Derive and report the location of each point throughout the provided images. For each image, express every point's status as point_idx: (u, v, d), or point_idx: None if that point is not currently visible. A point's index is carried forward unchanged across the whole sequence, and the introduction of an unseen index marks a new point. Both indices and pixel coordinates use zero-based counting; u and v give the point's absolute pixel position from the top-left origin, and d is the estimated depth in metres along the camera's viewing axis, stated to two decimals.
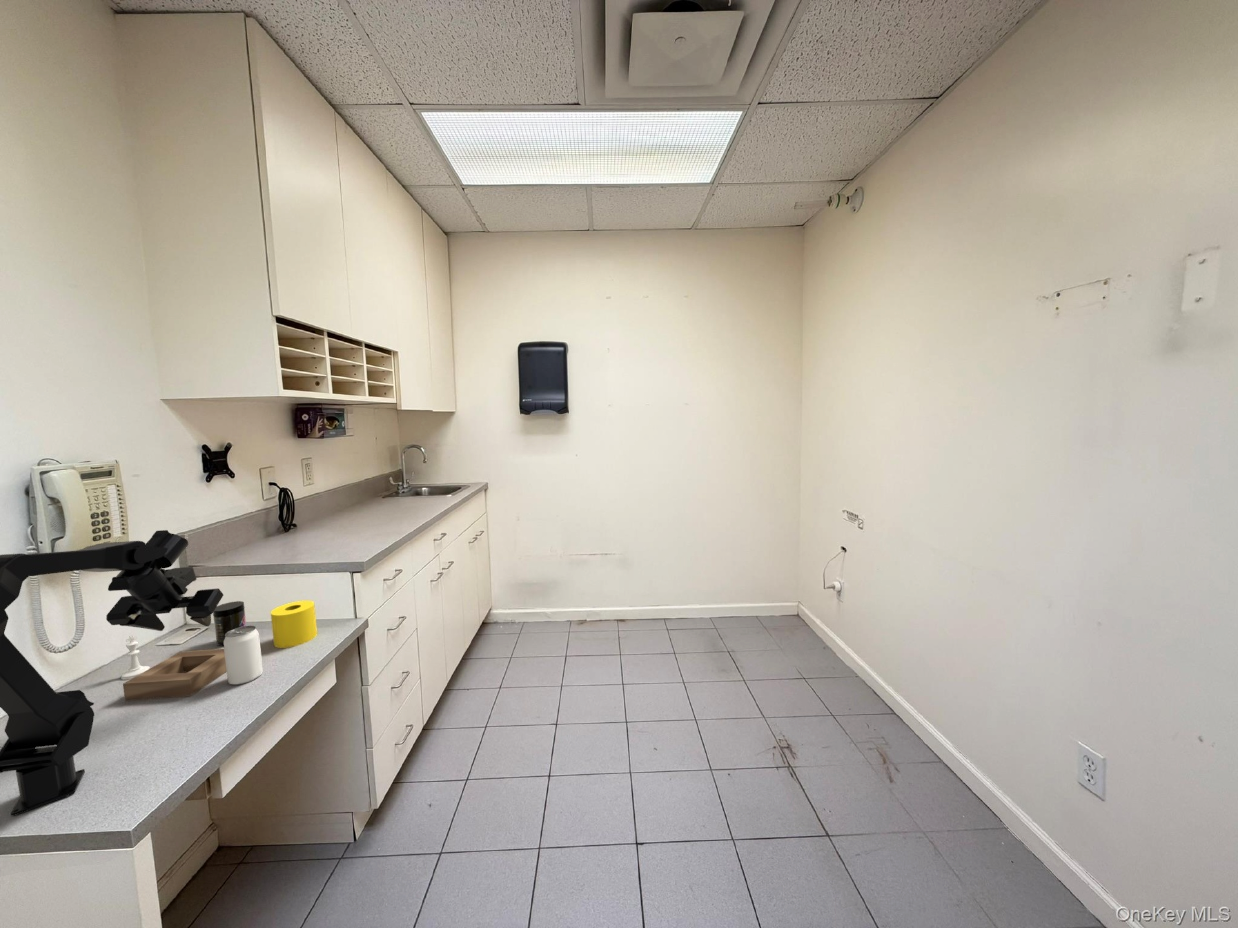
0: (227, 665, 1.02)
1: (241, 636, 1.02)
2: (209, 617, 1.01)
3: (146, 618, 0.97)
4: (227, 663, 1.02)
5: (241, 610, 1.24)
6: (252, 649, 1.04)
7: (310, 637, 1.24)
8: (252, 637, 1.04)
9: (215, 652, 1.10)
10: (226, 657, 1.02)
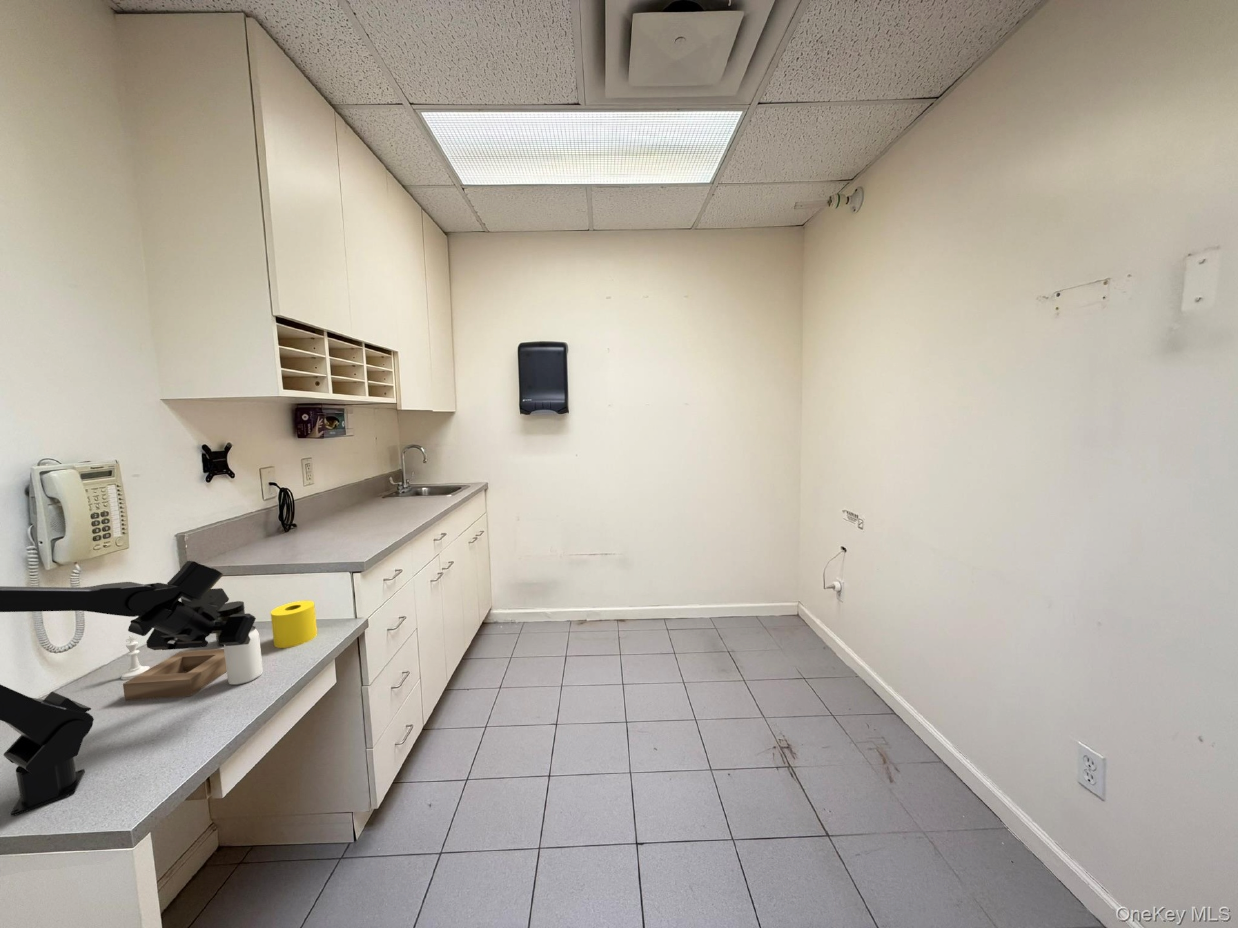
0: (227, 665, 1.02)
1: None
2: (247, 637, 0.99)
3: None
4: (227, 663, 1.02)
5: (241, 610, 1.24)
6: (252, 649, 1.04)
7: (310, 637, 1.24)
8: (252, 637, 1.04)
9: (215, 652, 1.10)
10: (226, 657, 1.02)
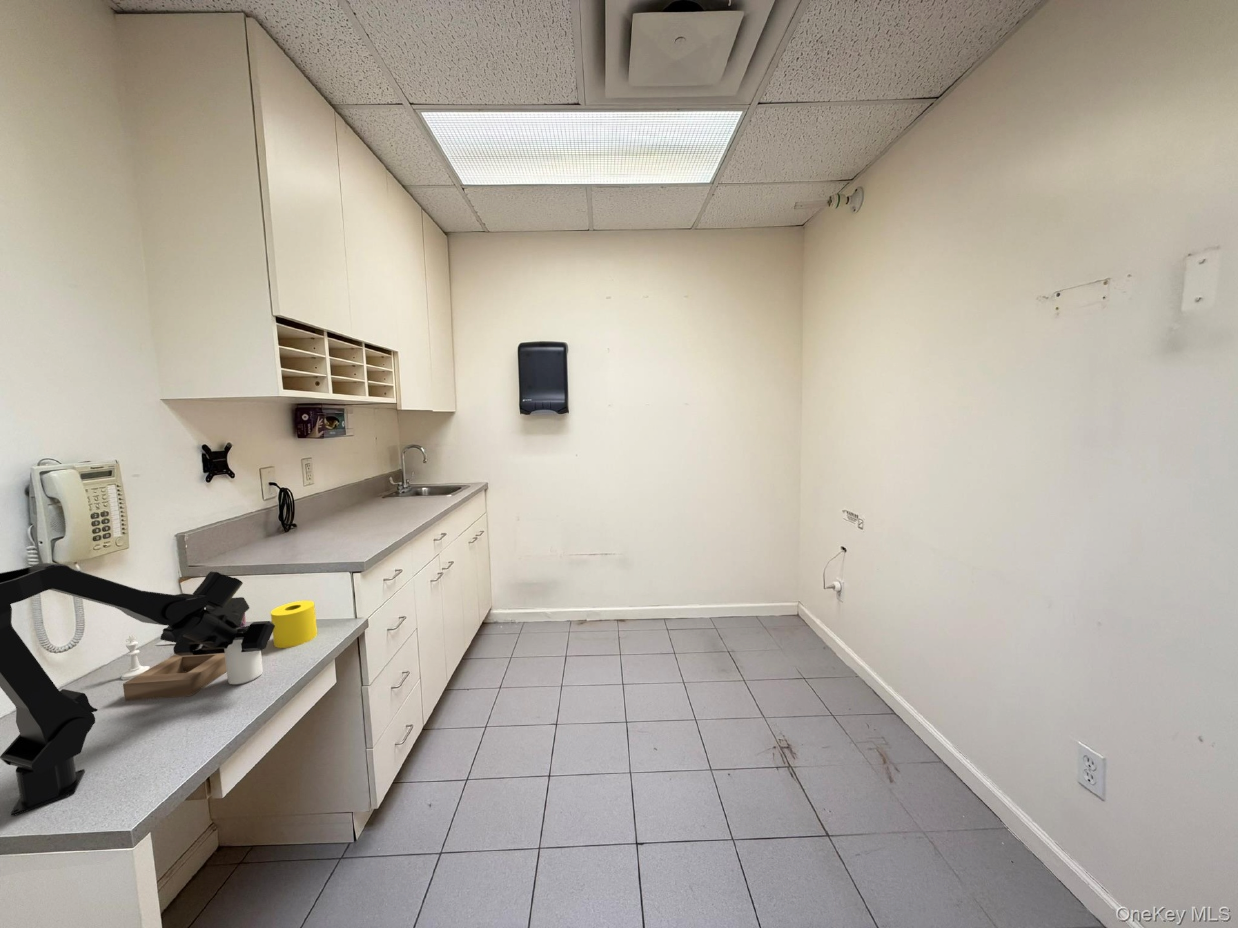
0: (227, 665, 1.02)
1: None
2: None
3: None
4: (227, 663, 1.02)
5: None
6: None
7: (310, 637, 1.24)
8: None
9: None
10: (226, 657, 1.02)
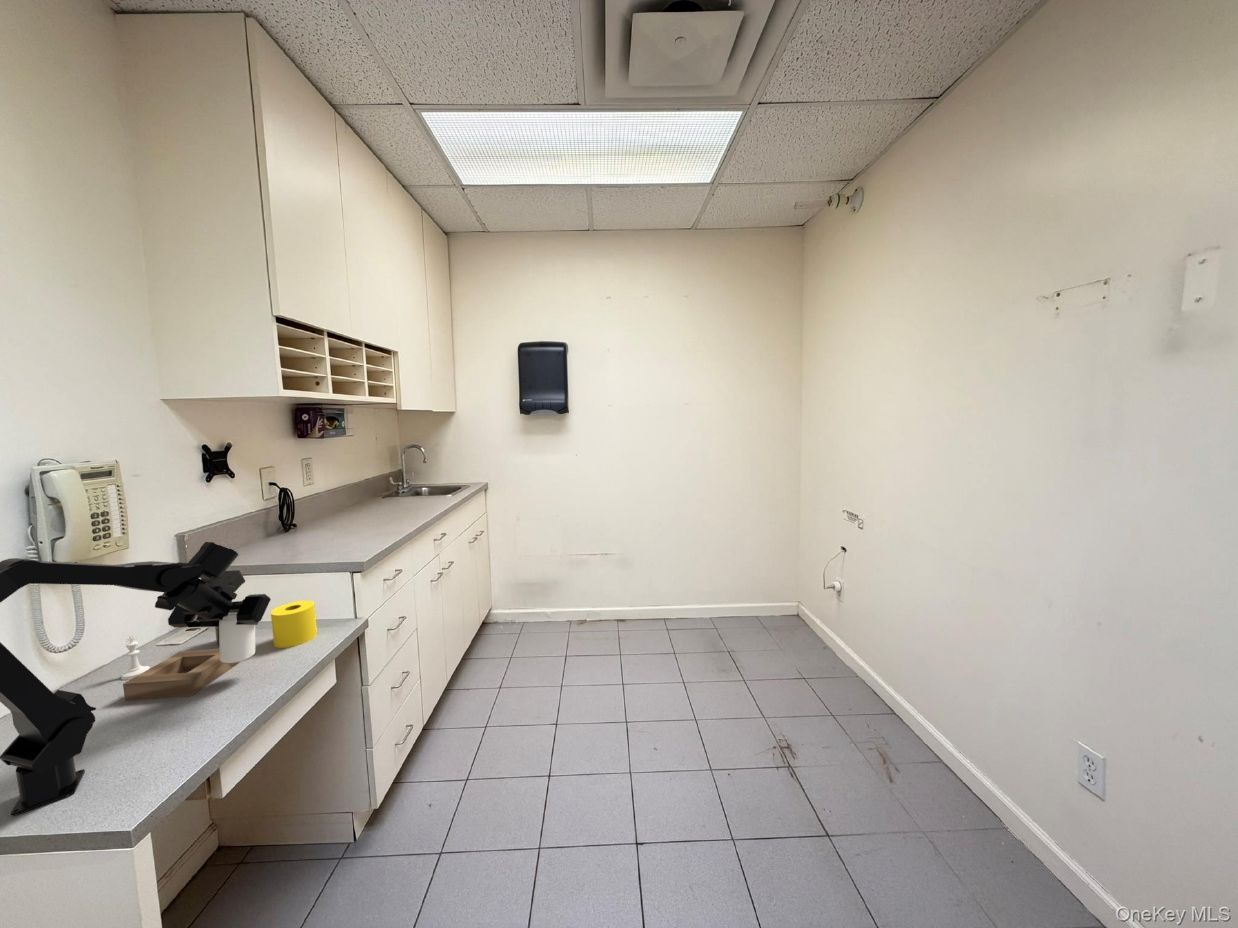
0: (221, 643, 1.01)
1: None
2: None
3: None
4: (221, 641, 1.01)
5: None
6: (247, 628, 1.03)
7: (310, 637, 1.24)
8: None
9: (215, 652, 1.10)
10: (221, 635, 1.01)
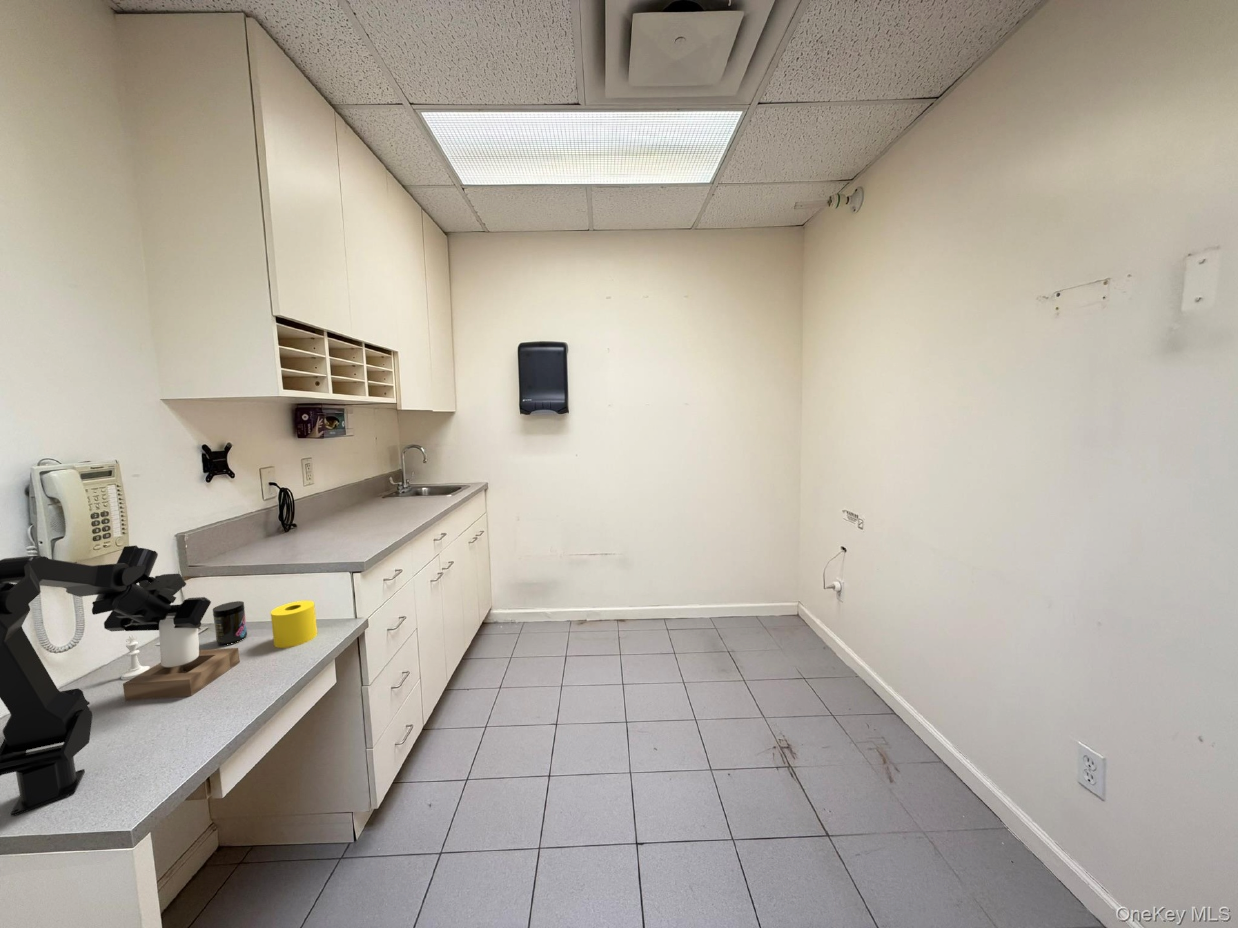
0: (161, 647, 1.01)
1: None
2: None
3: None
4: (161, 645, 1.01)
5: (241, 610, 1.24)
6: (189, 632, 1.03)
7: (310, 637, 1.24)
8: None
9: (215, 652, 1.10)
10: (160, 639, 1.01)
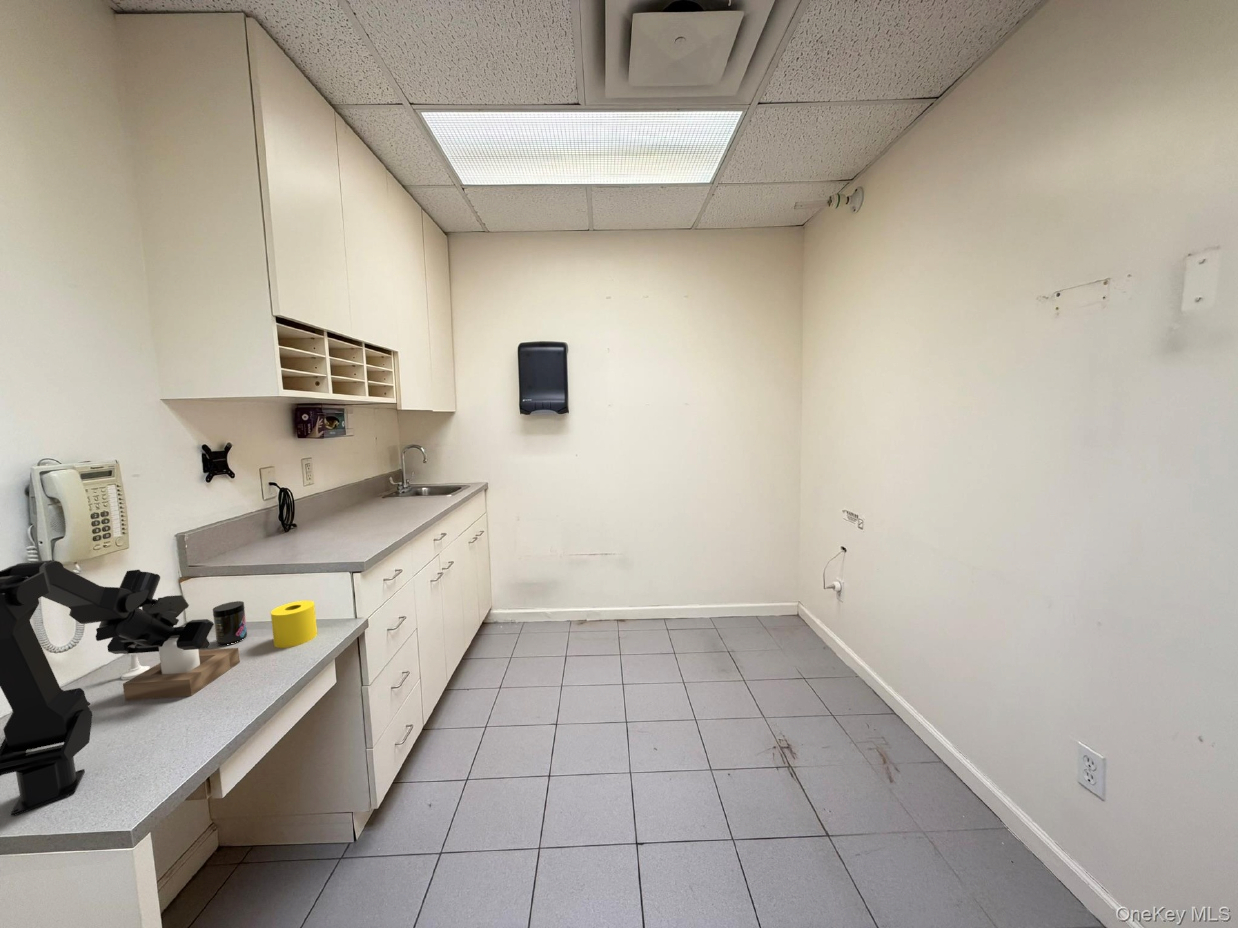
0: (162, 668, 1.01)
1: (177, 639, 1.02)
2: (206, 641, 1.05)
3: None
4: (162, 666, 1.01)
5: (241, 610, 1.24)
6: (189, 651, 1.03)
7: (310, 637, 1.24)
8: None
9: (215, 652, 1.10)
10: (161, 660, 1.01)
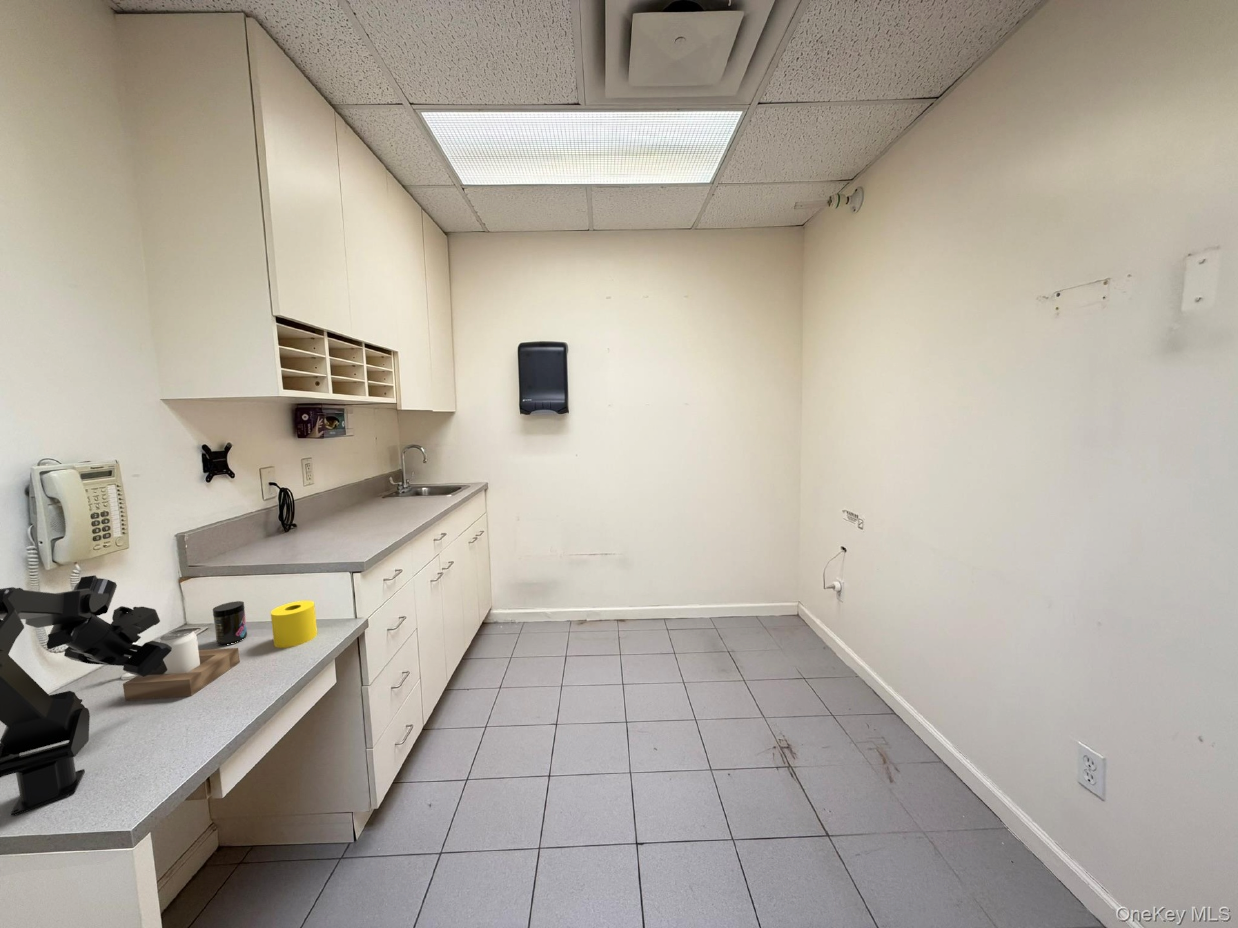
0: None
1: (177, 639, 1.02)
2: (162, 667, 0.94)
3: None
4: None
5: (241, 610, 1.24)
6: (189, 651, 1.03)
7: (310, 637, 1.24)
8: (189, 639, 1.03)
9: (215, 652, 1.10)
10: None
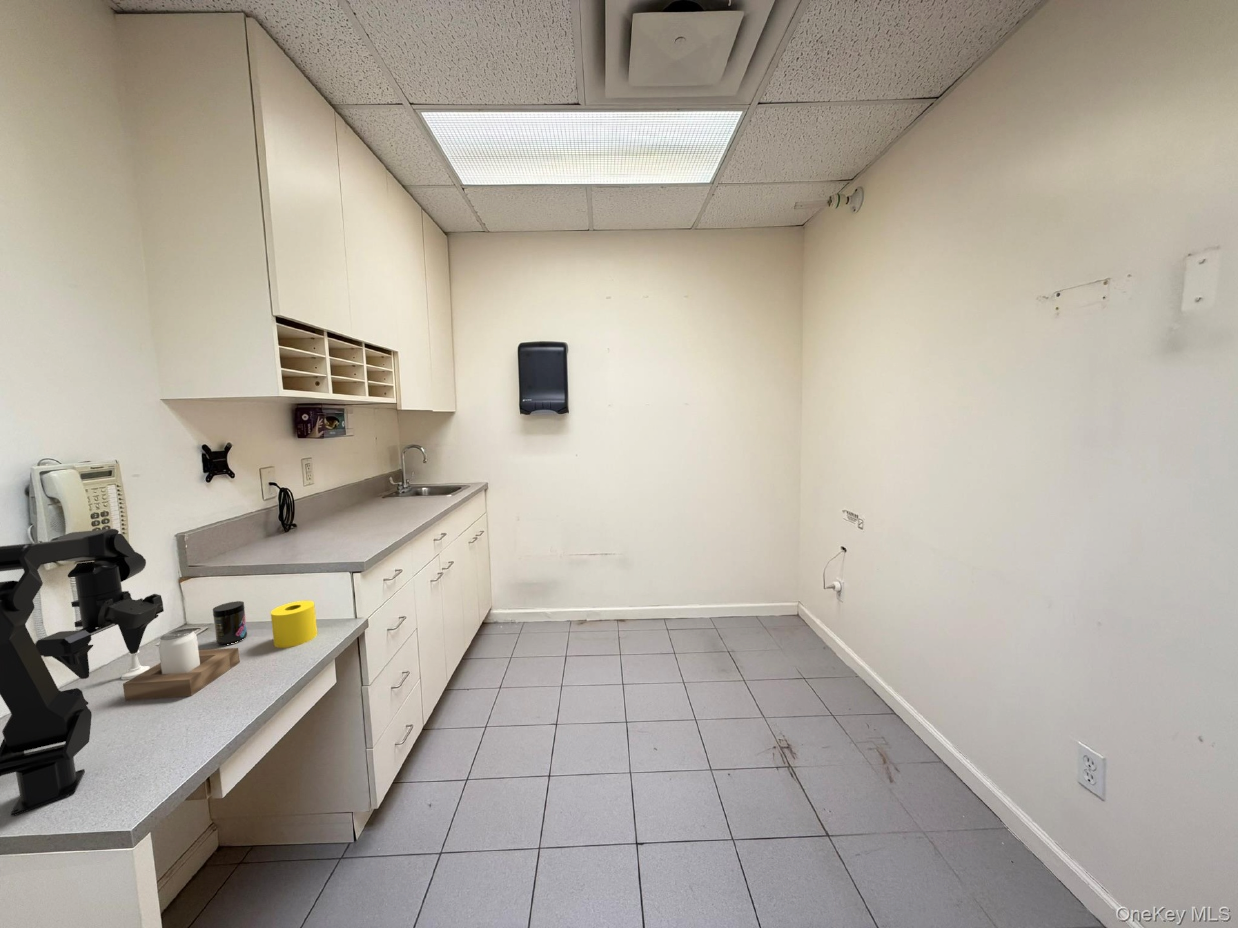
0: (162, 668, 1.01)
1: (177, 639, 1.02)
2: (79, 669, 0.83)
3: (128, 629, 0.93)
4: (162, 666, 1.01)
5: (241, 610, 1.24)
6: (189, 651, 1.03)
7: (310, 637, 1.24)
8: (189, 639, 1.03)
9: (215, 652, 1.10)
10: (161, 660, 1.01)
